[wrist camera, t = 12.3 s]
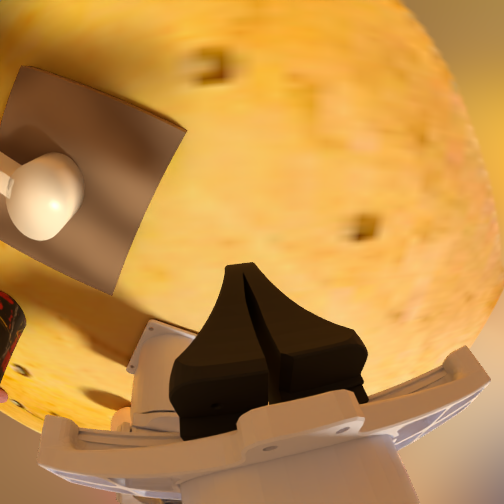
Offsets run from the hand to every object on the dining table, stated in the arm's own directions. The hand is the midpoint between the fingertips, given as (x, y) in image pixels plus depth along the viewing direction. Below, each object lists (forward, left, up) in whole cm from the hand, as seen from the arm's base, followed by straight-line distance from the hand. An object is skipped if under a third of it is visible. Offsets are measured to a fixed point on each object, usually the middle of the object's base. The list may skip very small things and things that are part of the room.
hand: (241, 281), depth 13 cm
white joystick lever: (-3, +16, -7) cm, 18 cm away
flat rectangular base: (-3, +12, -8) cm, 15 cm away
